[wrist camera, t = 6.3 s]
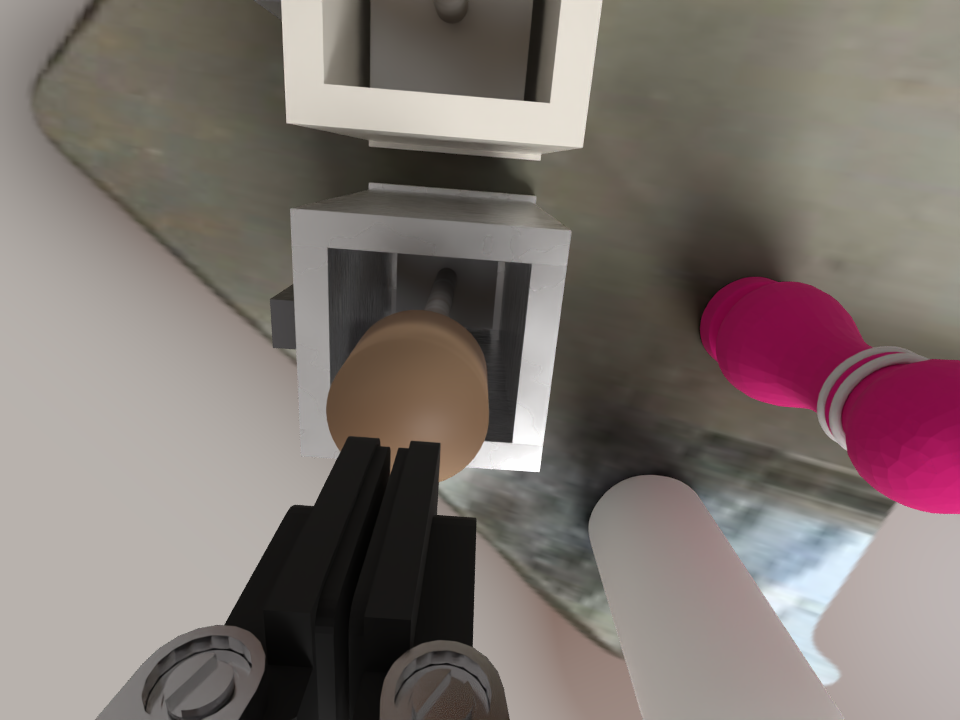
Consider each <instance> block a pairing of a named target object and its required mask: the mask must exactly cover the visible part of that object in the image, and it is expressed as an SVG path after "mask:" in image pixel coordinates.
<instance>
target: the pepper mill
mask: <svg viewBox="0 0 960 720" xmlns="http://www.w3.org/2000/svg"><path fill="white" fill-rule="evenodd" d="M700 335H701V340H702V343H703V345H704V347H705V349H706V351H707V352H708V354H709V355H710V356H711V357H712V358H714V359H715V360H716V361H717V362H718V364H719V367H720V369H721V371H722V373H723V374H724V376H725V377H726V378H727V380H728V381H729V382H730V383H731V384H732V385H733V386H734V387H735V388H737V389H738V390H740V391H742V392H743V393H745V394H746V395H748V396H749V397H751V398H754V399H756V400H759V401H762V402H766V403H769V404H773V405H777V406H785V407H799V408H807V409H811V410H813V411H815V412H816V413H817V416H818V420H819V423H820V425H821V427H822V429H823V430H824V432H825V433H826V434H827V435H828V436H829V437H830V438H831V439H832V440H834V441H835V442H837V443H839V445H840V446H841V447H843V448H844V449H845V450H847V452H848V455H849V457H850V459H851V461H852V463H853V465H854V467H855V468H856V470H857V471H858V473H859V475H860V476H861V477H863V478H864V479H865V480H866V481H867V482H868V483H869V484H870V485H871V486H872V487H873V488H875V489H876V490H877V491H879V492H880V493H882V494H884V495H885V496H887V497H888V498H890V499H892V500H894V501H896V502H898V503H900V504H902V505H904V506H907V507H910V508H913V509H917V510H920V511H925V512H930V513H939V514H960V361H959V360H940V359H928V358H926V357H923V356H920V355H917V354H915V353H914V352H912V351H909V350H907V349H904V348H900V347H894V346H881V347H874V348H873V347H871V346H869V345H867V344H866V343H865V342H864V340H863V339H862V336H861V334H860V332H859V330H858V328H857V326H856V324H855V322H854V321H853V319H852V317H851V316H850V315H849V313H848V312H847V311H846V310H845V309H844V308H843V307H842V305H841V304H840V303H839V302H838V301H837V300H835V299H834V298H833V297H832V296H830V295H828V294H827V293H825V292H823V291H821V290H819V289H817V288H815V287H813V286H812V285H808V284H804V283H799V282H777V281H774V280H772V279H768V278H764V277H747V278H742V279H739V280H737V281H734V282H732V283H730V284H728V285H726V286H725V287H723V288H722V289H721V290H719V291H718V292H717V293H716V294H715V295H714V296H713V298H712V299H711V300H710V301H709V303H708V304H707V306H706V308H705V310H704V312H703V315H702V318H701V324H700Z"/></svg>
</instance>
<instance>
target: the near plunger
mask: <svg viewBox="0 0 960 720" xmlns="http://www.w3.org/2000/svg"><path fill="white" fill-rule="evenodd" d="M532 8H533V0H371V20H370V88H378V89H390V90H402V91H413V92H425V93H436V94H448V95H460V96H471V97H483V98H495V99H506V100H518V101H524V91H525V81H526V70H527V60H528V50H529V39H530V29H531V18H532Z"/></svg>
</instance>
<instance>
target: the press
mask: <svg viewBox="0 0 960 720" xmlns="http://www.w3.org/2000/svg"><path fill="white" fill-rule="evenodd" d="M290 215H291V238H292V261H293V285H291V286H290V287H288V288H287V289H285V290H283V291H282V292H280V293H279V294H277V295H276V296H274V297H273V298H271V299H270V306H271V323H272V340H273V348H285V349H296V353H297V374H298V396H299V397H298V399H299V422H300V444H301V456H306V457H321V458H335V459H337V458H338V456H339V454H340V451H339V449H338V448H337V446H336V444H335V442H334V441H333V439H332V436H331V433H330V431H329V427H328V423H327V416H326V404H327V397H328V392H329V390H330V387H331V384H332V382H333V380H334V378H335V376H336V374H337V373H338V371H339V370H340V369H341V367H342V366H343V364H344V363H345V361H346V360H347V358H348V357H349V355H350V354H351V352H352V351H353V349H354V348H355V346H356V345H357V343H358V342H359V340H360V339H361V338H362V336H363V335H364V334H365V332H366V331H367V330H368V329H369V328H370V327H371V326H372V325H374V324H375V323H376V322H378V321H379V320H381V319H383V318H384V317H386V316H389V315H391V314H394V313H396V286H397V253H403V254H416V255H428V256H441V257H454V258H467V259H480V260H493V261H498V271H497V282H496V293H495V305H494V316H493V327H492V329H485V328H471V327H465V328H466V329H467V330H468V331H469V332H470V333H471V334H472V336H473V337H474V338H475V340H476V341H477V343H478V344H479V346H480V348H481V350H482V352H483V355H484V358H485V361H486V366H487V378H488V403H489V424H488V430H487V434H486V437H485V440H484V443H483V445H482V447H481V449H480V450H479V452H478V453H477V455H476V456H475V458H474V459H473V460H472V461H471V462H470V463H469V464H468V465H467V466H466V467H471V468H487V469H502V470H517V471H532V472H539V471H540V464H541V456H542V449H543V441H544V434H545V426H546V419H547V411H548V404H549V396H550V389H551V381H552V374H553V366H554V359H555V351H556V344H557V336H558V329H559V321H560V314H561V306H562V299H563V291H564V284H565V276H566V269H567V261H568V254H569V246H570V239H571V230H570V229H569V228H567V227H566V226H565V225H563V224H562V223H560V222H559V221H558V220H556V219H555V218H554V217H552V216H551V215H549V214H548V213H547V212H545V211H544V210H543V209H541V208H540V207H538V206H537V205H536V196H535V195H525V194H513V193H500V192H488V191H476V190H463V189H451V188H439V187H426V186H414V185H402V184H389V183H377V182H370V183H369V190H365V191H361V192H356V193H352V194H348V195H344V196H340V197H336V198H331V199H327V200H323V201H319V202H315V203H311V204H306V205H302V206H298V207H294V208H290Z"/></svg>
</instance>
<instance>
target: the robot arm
mask: <svg viewBox="0 0 960 720" xmlns="http://www.w3.org/2000/svg"><path fill="white" fill-rule="evenodd" d="M440 450H441V443H437V442H424V441H411V442H410V445H409V448H398V451H397V454H396V457H395V461H394V464H393V467H392V471H391V474H390V465H391V450H390V447H385V446H381V444H380V439H379V438H370V437H356V436H348V438H347V439H346V442H345V444H344V446H343V448H342V450H341V452H340V454H339V456H338V458H337V460H336V462H335V464H334V466H333V468H332V470H331V472H330V475H329V476H328V478H327V480H326V482H325V484H324V487H323V488H322V490H321V492H320V495H319V497H318V499H317V501H316V503H315V505H314V506H304V505H293V506H292V507H290V509H289V510H288V512H287V513H286V515H285V517H284V519H283V520H282V522H281V524H280V526H279V528H278V530H277V531H276V533H275V535H274V537H273V538H272V540H271V542H270V544H269V545H268V547H267V549H266V551H265V553H264V555H263V556H262V558H261V560H260V562H259V563H258V565H257V567H256V569H255V571H254V572H253V574H252V576H251V578H250V580H249V582H248V583H247V585H246V587H245V589H244V590H243V592H242V594H241V596H240V598H239V600H238V601H237V603H236V605H235V607H234V608H233V610H232V612H231V614H230V616H229V618H228V619H227V621H226V623H225V625H215V626H209V627H204V628H198V629H195V630H193V631H190V632H188V633H185V634H183V635H180V636H178V637H176V638H175V639H173V640H171V641H170V642H168V643H167V644H165V645H163V646H162V647H160V648H159V649H158V650H157V651H156V652H155V653H153V654H152V655H151V656H150V657H149V658H148V659H147V660H146V661H145V662H144V663H143V664H142V665H141V666H140V668H139V669H138V670H137V671H136V672H135V673H134V675H133V676H132V677H131V678H130V680H128V682H127V683H126V684H125V685H124V686H123V687H122V689H121V690H120V691H119V692H118V693H117V694H116V696H115V697H114V698H113V699H112V700H111V701H110V703H109V704H108V705H107V706H106V707H105V708H104V710H103V711H102V712H101V713H100V714H99V716H98V717H97V718H96V719H95V720H510V719H509V714H508V708H507V703H506V697H505V692H504V687H503V685H502V682H501V679H500V676H499V674H498V671H497V670H496V669H495V667H494V666H493V665H492V663H491V662H490V661H489V659H488V658H487V657H486V656H484V655H483V654H482V653H480V652H479V651H477V650H476V649H475V648H473V617H474V584H475V551H476V518H470V517H457V516H443V515H437V503H438V486H439V468H440Z"/></svg>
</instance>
